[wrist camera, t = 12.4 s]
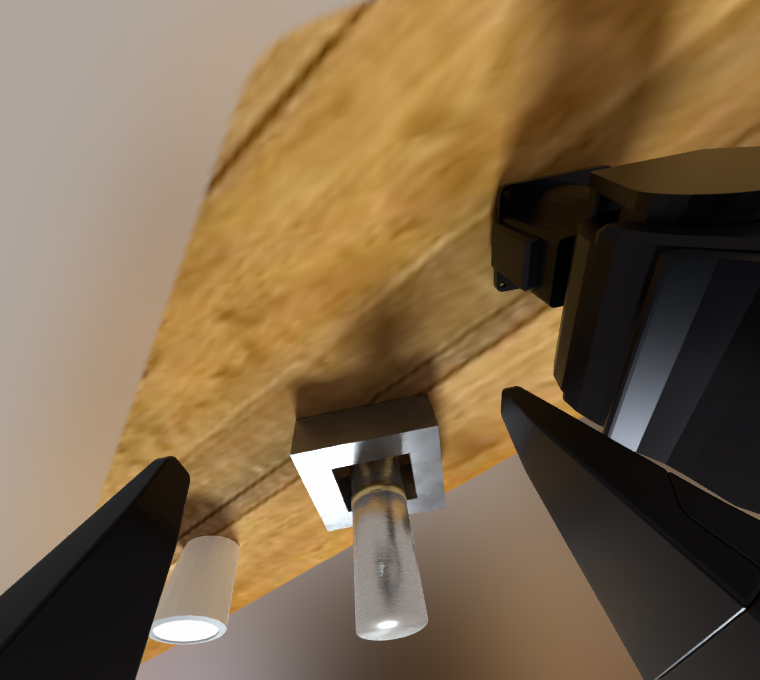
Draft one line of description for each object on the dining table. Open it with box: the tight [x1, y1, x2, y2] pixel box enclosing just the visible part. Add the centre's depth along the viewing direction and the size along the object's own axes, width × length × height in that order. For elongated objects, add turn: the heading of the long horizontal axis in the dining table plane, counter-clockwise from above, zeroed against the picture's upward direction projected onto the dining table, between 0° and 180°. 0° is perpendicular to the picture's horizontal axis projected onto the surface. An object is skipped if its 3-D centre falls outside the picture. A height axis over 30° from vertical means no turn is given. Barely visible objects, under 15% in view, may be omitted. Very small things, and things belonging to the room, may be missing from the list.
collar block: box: [290, 394, 446, 531], centre depth 27 cm, size 11×11×4 cm
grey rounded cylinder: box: [351, 456, 428, 640], centre depth 23 cm, size 4×4×12 cm
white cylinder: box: [149, 535, 240, 644], centre depth 31 cm, size 7×7×7 cm
